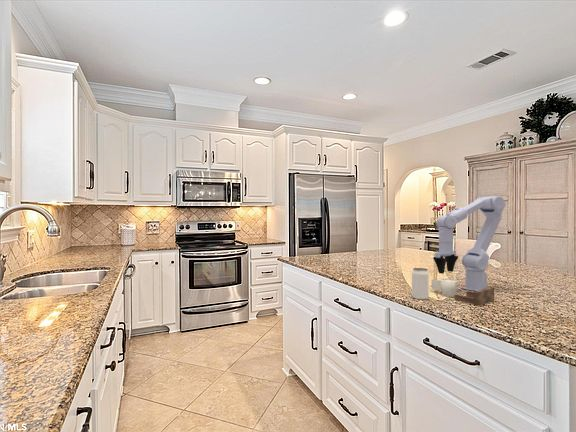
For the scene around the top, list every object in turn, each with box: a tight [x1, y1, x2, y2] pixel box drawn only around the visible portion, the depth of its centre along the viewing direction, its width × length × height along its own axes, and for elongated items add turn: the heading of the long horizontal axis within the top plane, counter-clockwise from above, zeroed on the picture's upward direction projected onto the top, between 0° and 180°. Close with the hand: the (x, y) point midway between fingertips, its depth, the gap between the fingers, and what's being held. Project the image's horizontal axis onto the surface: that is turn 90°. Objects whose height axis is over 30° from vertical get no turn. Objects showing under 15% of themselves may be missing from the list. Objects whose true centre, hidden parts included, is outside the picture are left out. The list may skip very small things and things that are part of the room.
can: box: [411, 267, 430, 301], centre depth 136 cm, size 6×6×12 cm
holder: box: [454, 286, 495, 307], centre depth 133 cm, size 14×10×5 cm
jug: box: [431, 278, 460, 298], centre depth 142 cm, size 11×6×6 cm, turn 36°
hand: (445, 272), depth 148 cm, fingers open, 7 cm apart
